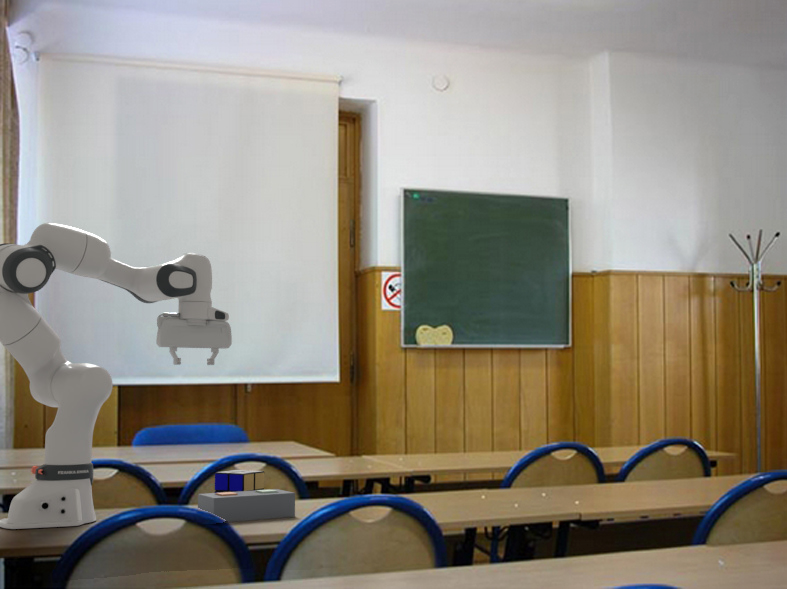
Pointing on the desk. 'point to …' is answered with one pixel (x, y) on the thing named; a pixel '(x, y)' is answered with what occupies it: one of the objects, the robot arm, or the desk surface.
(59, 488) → the robot arm
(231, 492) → the salmon orange block
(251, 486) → the puzzle cube
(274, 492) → the pale green block
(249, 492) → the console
